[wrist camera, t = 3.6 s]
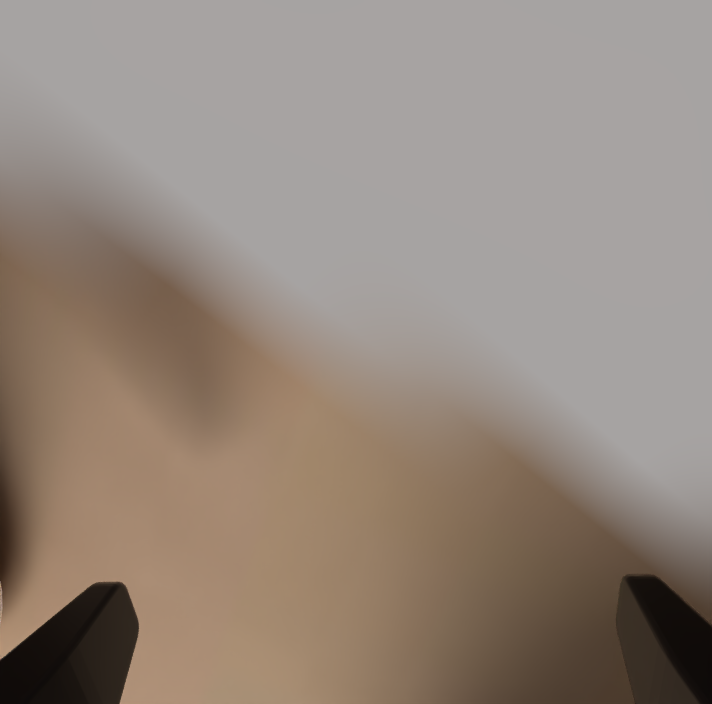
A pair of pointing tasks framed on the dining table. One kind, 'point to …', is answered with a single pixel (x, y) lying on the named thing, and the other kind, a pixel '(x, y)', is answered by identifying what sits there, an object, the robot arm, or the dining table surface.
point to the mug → (0, 602)
